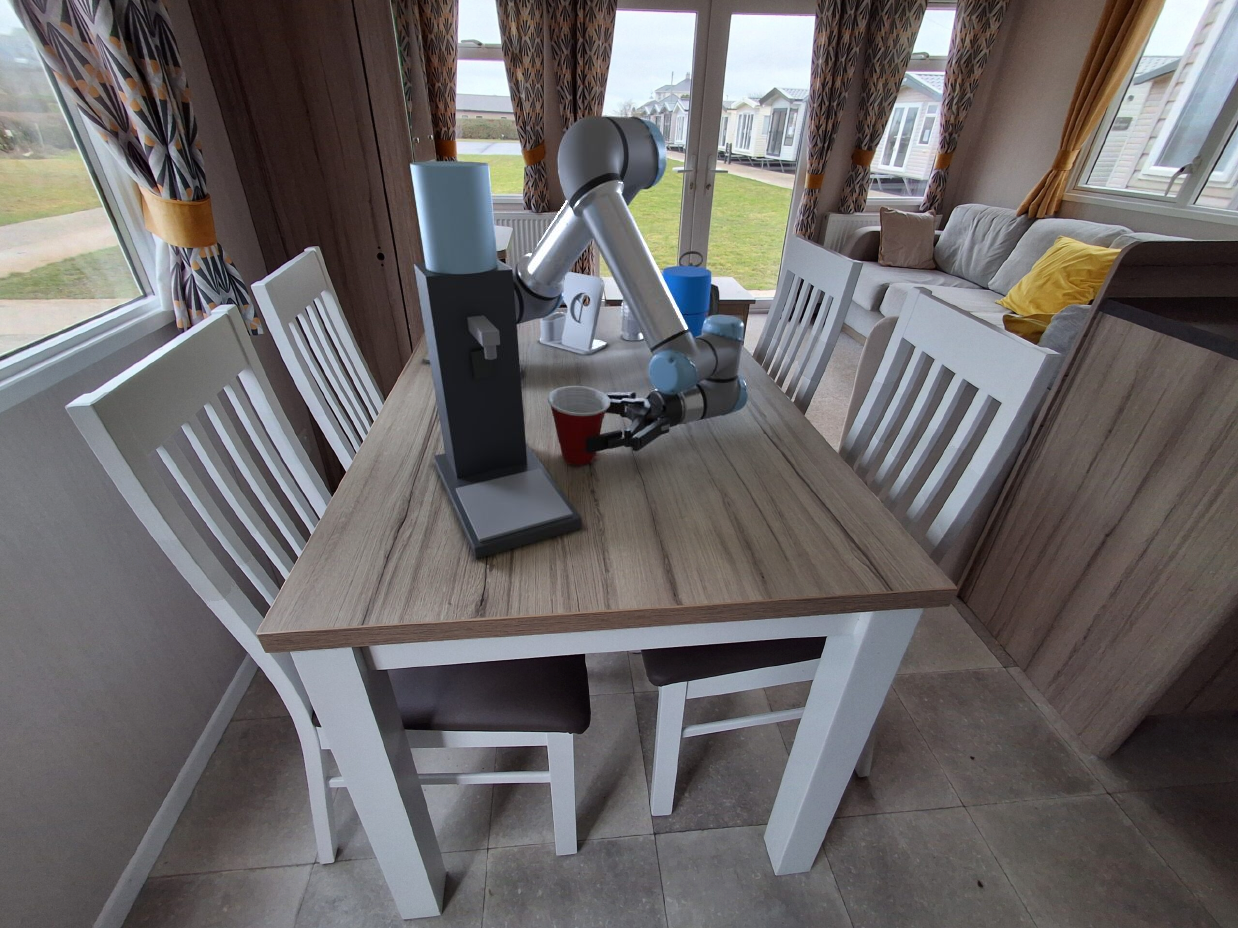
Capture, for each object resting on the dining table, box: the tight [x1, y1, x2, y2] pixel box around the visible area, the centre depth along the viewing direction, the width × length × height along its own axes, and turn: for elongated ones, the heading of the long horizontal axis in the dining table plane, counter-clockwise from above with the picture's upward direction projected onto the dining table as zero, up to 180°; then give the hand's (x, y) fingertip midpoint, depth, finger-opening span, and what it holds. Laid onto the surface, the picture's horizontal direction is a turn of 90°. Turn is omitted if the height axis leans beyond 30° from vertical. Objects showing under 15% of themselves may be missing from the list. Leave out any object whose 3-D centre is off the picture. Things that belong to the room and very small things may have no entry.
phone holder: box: [539, 271, 607, 356], centre depth 149 cm, size 17×10×18 cm, turn 55°
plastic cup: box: [546, 385, 610, 466], centre depth 98 cm, size 11×11×12 cm
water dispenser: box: [409, 160, 583, 560], centre depth 79 cm, size 28×16×47 cm, turn 27°
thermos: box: [661, 265, 712, 338], centre depth 127 cm, size 11×11×25 cm
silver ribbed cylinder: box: [620, 297, 644, 342], centre depth 155 cm, size 7×7×15 cm
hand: (569, 428), depth 97 cm, fingers open, 13 cm apart
